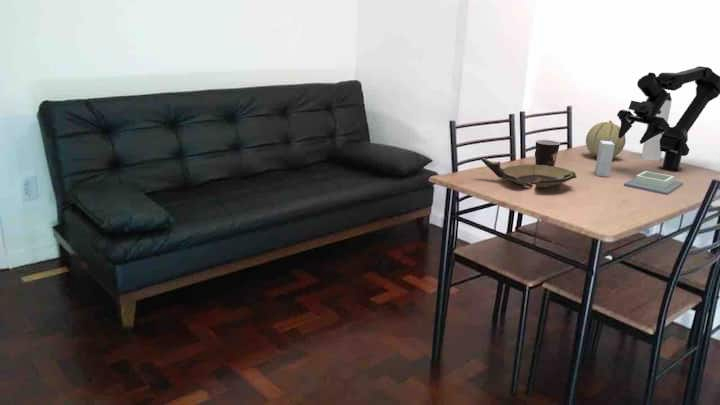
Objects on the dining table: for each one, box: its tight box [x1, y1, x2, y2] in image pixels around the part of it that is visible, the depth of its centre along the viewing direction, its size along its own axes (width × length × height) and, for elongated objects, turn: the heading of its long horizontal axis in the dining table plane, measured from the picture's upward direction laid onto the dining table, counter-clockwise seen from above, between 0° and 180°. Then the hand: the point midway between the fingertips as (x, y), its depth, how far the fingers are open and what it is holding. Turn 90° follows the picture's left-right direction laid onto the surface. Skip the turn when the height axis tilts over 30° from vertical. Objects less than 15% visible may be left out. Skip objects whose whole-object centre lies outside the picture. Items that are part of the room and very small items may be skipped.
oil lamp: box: [480, 157, 577, 189], centre depth 205 cm, size 22×30×8 cm
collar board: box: [623, 170, 684, 196], centre depth 209 cm, size 18×14×3 cm
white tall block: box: [640, 97, 673, 162], centre depth 245 cm, size 7×7×25 cm
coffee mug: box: [534, 139, 561, 166], centre depth 224 cm, size 12×9×10 cm
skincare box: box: [594, 141, 615, 178], centre depth 219 cm, size 6×4×12 cm
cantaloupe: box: [585, 120, 627, 158], centre depth 244 cm, size 15×15×15 cm
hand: (629, 140), depth 218 cm, fingers open, 9 cm apart
